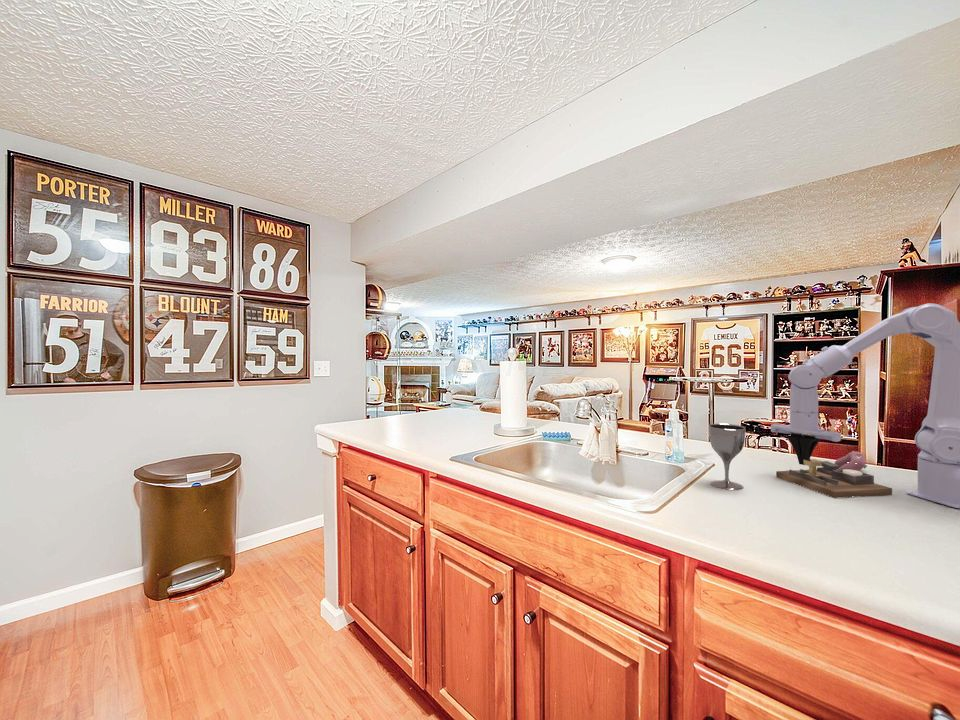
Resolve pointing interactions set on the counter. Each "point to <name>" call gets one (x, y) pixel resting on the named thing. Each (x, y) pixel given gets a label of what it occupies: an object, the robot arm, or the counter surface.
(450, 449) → the counter surface
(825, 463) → the rocker switch
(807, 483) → the control panel
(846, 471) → the push button
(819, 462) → the slide lever
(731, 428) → the wine glass
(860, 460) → the pink toy figure
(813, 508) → the counter surface
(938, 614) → the counter surface
